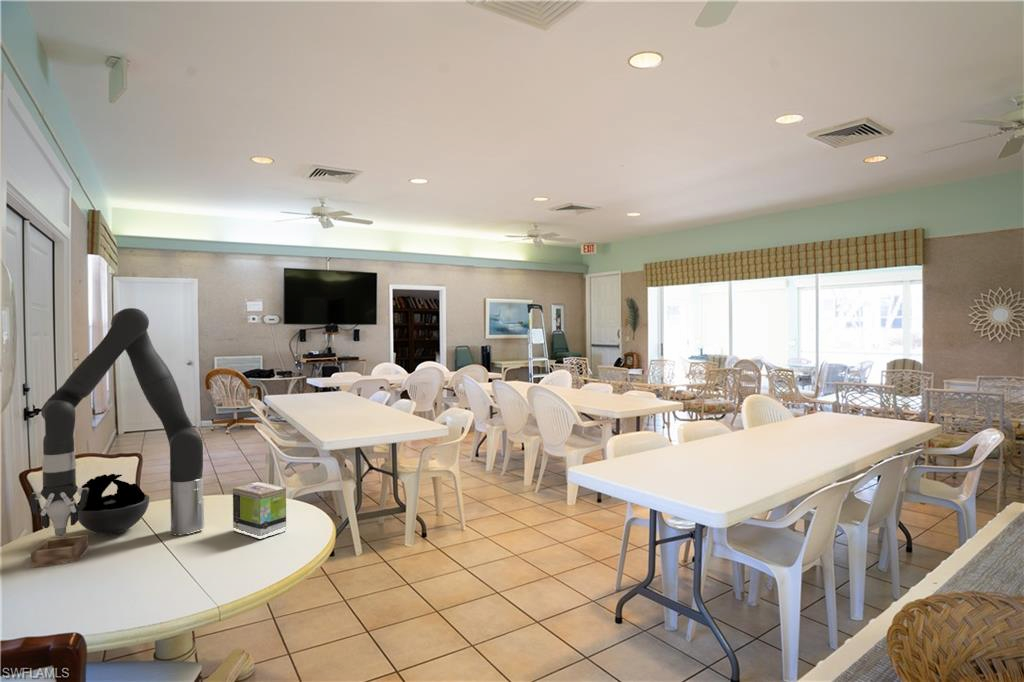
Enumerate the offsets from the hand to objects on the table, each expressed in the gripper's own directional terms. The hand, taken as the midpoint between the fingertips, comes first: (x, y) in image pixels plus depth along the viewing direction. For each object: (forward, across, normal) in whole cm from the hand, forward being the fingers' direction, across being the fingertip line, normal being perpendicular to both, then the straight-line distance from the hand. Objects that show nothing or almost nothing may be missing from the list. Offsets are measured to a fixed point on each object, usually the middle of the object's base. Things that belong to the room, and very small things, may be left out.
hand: (60, 525), depth 165 cm
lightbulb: (+3, 0, 0) cm, 3 cm away
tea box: (+9, +53, 0) cm, 54 cm away
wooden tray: (+9, 0, 0) cm, 9 cm away
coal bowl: (+9, +9, +18) cm, 22 cm away
